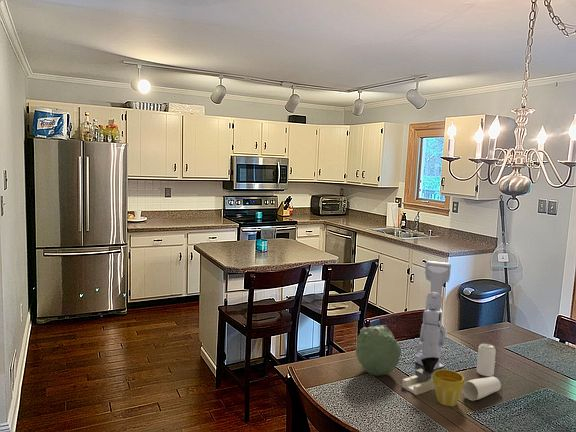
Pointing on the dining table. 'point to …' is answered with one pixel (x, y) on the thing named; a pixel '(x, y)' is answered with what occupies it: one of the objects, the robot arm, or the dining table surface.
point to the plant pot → (447, 386)
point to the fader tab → (423, 375)
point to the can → (486, 359)
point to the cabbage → (377, 350)
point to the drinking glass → (481, 387)
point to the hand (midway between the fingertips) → (428, 374)
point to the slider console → (417, 385)
